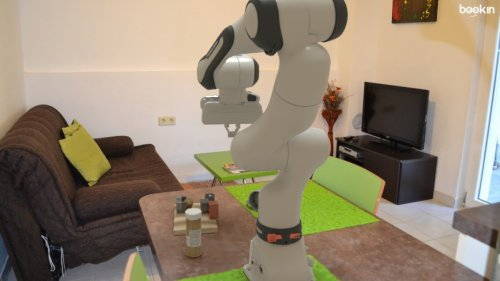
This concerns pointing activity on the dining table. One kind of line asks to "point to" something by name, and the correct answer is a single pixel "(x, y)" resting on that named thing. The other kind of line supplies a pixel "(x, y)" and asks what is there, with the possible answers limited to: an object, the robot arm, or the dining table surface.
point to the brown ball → (189, 202)
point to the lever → (209, 205)
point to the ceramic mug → (253, 199)
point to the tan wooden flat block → (180, 219)
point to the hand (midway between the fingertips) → (232, 137)
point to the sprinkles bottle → (193, 232)
